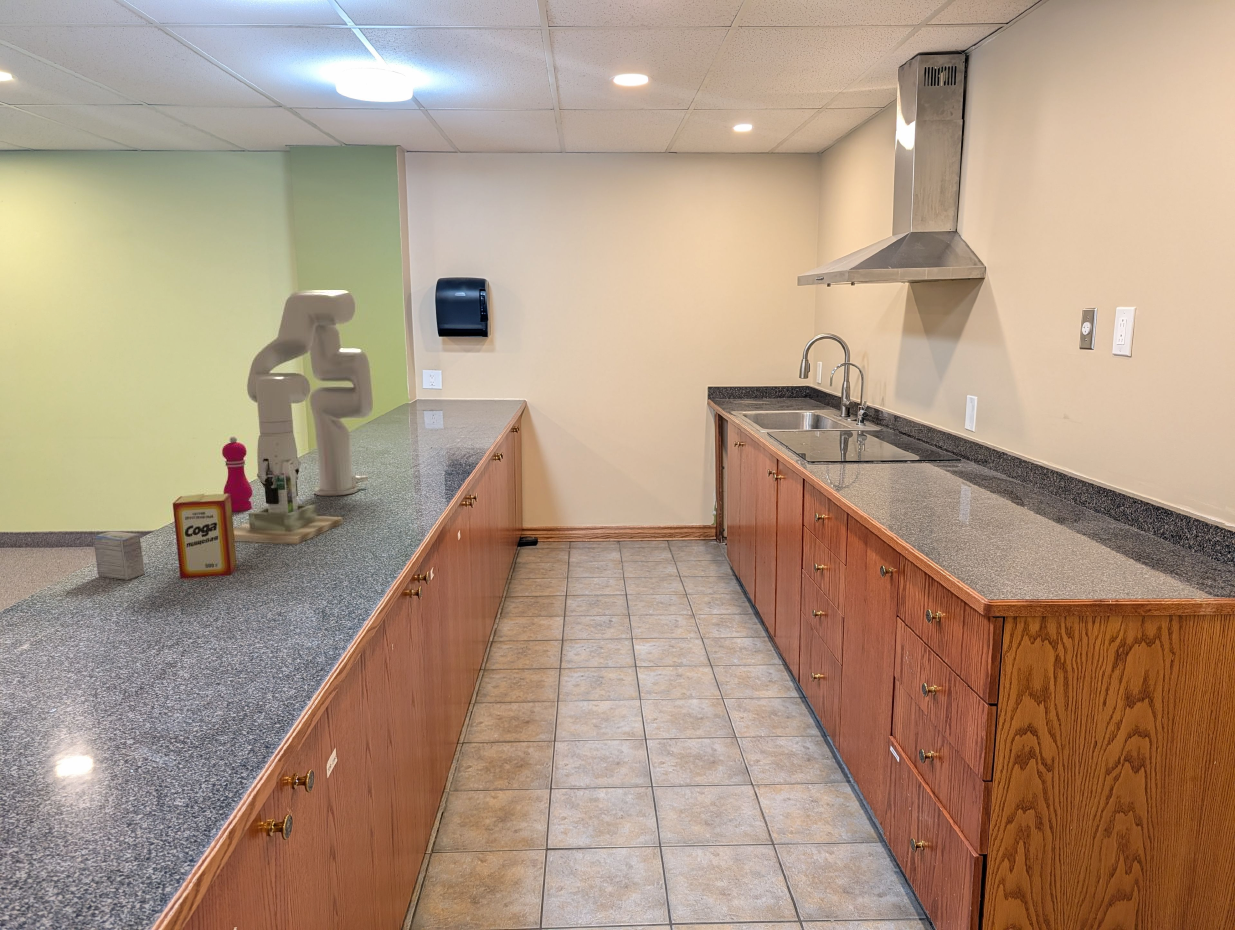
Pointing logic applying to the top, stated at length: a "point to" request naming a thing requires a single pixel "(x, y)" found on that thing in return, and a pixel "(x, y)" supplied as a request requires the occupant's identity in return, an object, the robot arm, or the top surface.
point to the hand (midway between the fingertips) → (282, 499)
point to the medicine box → (118, 555)
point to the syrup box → (285, 490)
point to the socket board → (285, 525)
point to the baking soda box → (204, 535)
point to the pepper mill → (237, 476)
